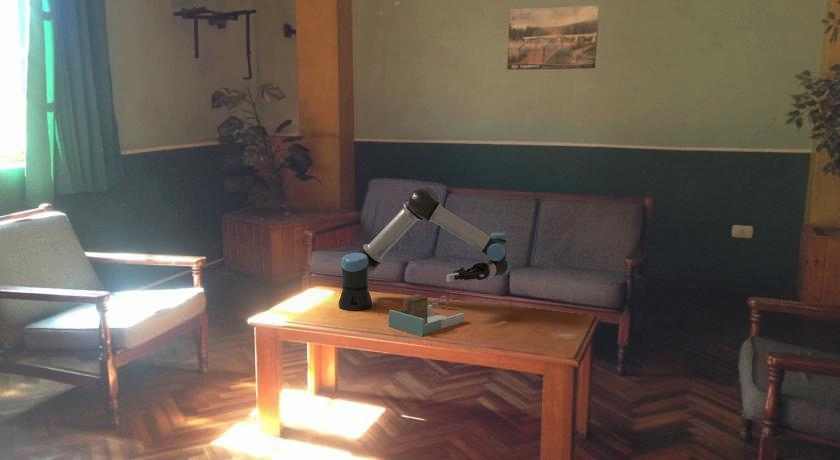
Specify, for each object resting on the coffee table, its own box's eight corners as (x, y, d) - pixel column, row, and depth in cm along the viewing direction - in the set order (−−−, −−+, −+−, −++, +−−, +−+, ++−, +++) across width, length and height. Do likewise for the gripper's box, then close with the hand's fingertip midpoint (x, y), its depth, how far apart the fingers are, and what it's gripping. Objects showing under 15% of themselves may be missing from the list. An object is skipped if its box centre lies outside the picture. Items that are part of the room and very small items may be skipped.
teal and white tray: (388, 326, 292) (388, 310, 291) (430, 314, 310) (430, 299, 309) (422, 337, 279) (422, 319, 278) (464, 323, 297) (464, 307, 296)
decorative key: (410, 312, 325) (450, 310, 316) (409, 312, 324) (449, 311, 315) (408, 297, 324) (448, 295, 315) (406, 298, 323) (447, 296, 314)
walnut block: (402, 326, 289) (402, 297, 288) (417, 322, 295) (417, 294, 293) (413, 329, 285) (413, 300, 283) (427, 325, 291) (427, 296, 289)
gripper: (494, 281, 313) (459, 290, 296) (471, 276, 322) (436, 284, 305) (495, 264, 311) (459, 272, 295) (472, 259, 320) (436, 267, 304)
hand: (447, 278), depth 300 cm, fingers closed
